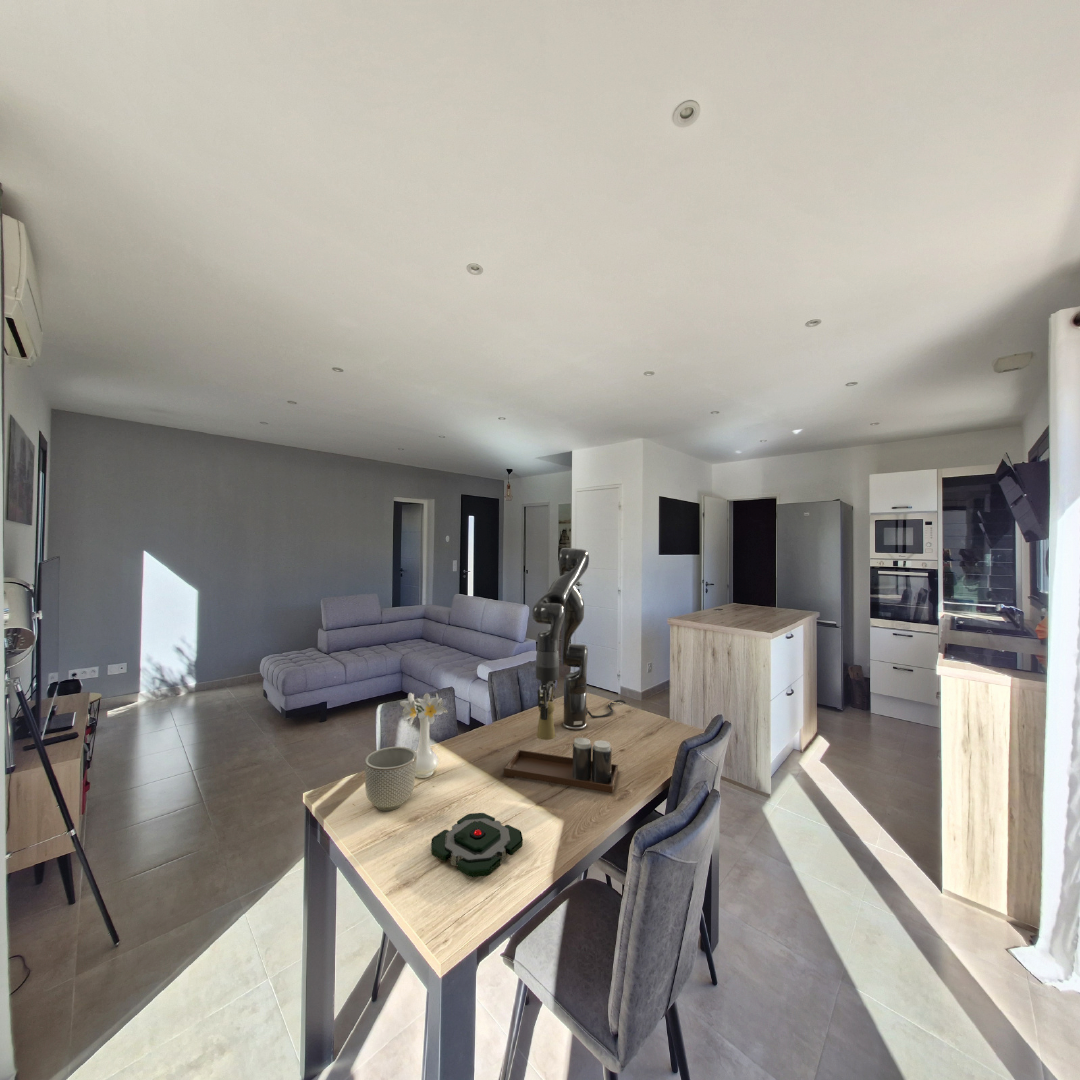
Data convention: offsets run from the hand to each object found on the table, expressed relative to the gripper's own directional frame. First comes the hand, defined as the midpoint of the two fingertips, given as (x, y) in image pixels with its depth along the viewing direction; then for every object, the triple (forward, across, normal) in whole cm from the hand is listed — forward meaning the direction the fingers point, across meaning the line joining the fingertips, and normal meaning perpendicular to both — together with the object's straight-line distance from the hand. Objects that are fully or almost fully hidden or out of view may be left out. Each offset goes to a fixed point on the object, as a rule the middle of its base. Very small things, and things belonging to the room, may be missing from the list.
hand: (546, 716), depth 147 cm
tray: (+18, 0, -6) cm, 19 cm away
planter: (+18, -32, +36) cm, 51 cm away
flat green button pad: (+18, -42, +5) cm, 46 cm away
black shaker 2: (+17, 0, -18) cm, 25 cm away
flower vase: (+18, -14, +37) cm, 43 cm away
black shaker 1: (+17, 0, -12) cm, 21 cm away
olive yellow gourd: (+7, 0, 0) cm, 7 cm away
